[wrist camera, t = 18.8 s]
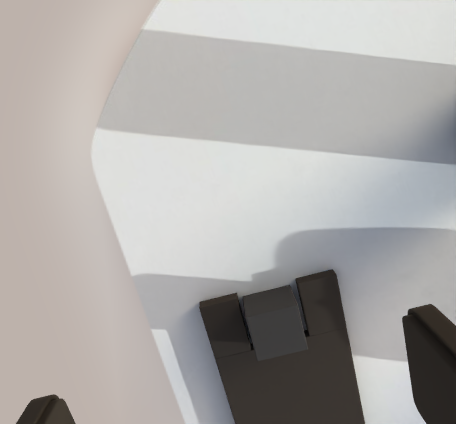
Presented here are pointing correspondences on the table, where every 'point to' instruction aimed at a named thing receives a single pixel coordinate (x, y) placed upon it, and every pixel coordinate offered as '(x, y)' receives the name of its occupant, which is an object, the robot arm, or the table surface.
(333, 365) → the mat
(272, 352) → the dark block
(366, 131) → the table surface
